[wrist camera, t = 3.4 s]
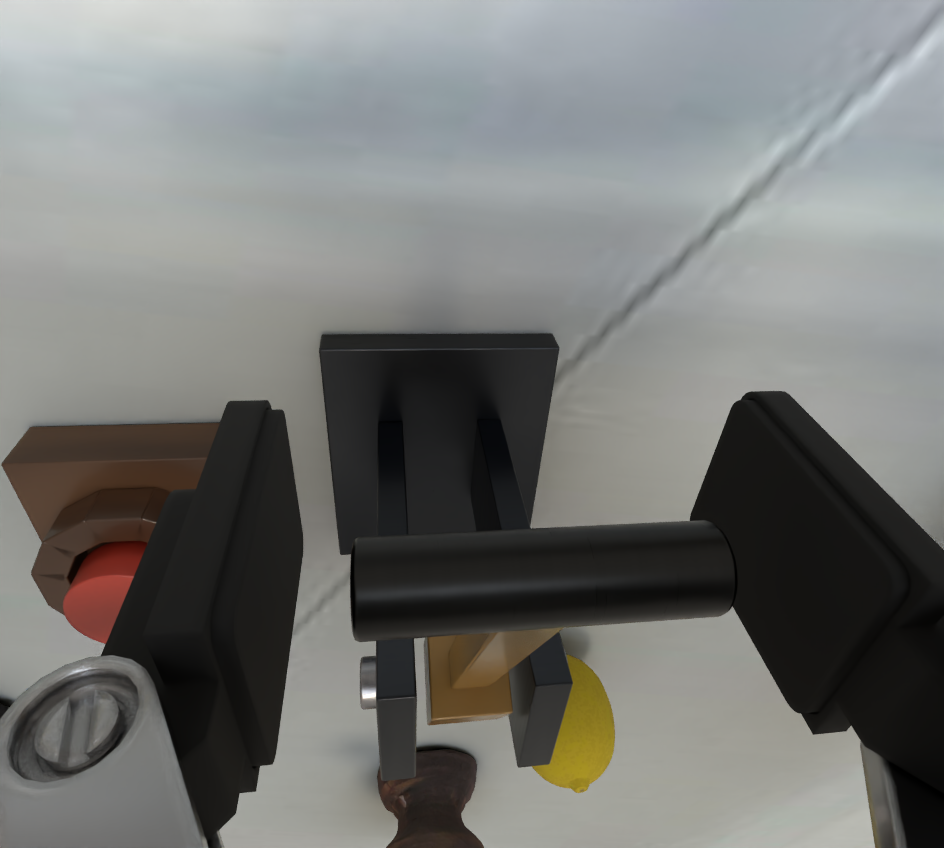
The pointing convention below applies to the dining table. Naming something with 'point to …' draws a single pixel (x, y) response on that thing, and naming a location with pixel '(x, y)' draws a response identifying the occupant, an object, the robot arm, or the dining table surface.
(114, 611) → the button
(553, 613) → the lever
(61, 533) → the button block
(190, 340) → the dining table surface
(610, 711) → the lemon
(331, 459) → the bracket
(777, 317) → the dining table surface
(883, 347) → the dining table surface
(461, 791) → the mortar and pestle
